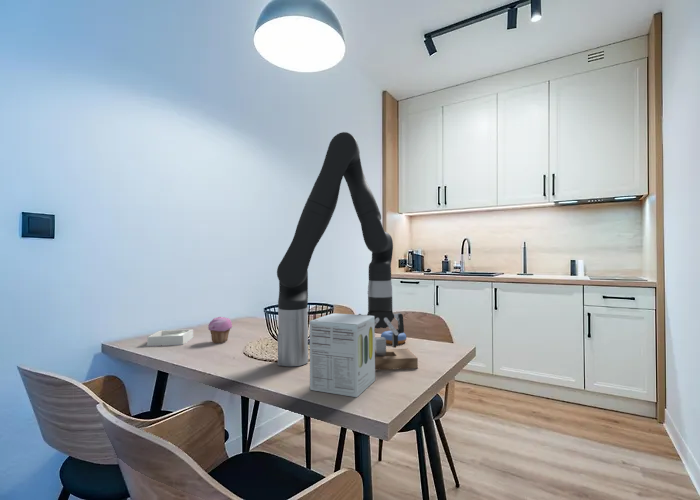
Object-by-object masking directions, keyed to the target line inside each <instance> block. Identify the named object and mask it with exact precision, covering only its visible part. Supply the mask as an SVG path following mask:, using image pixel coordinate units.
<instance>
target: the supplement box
mask: <svg viewBox="0 0 700 500" xmlns="http://www.w3.org/2000/svg"><path fill="white" fill-rule="evenodd" d="M374 318H375V317H374V316H369V315H367V314H361V315H358V314H354V313H353V314H352V313H351V314H350V313H334V312H333V313H332V312H331V313H330V314H327V315H323V316H320V317H318V318H314V319H312V320H309V390H310V391H317V392H321V393H328V394H332V395H333V394H334V395H339V396H340V395H341V396H347V397H353V398H358V397H359V396H360V395H361V394H362V393H363V392H364V391H366V389H367V388H369V387H370V386H371V385H372V384H373V383H374V382H375V381H376V370H375V335H376V334H375V329H376V328H375V319H374Z"/></svg>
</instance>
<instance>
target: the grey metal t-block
mask: <svg viewBox="0 0 700 500" xmlns="http://www.w3.org/2000/svg"><path fill="white" fill-rule="evenodd" d="M386 349H387V344H386V339H385V338H384V337H381V336H379V337H378V336H377V337H375V357H384V356H386Z"/></svg>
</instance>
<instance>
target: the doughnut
mask: <svg viewBox="0 0 700 500" xmlns="http://www.w3.org/2000/svg"><path fill="white" fill-rule="evenodd" d="M392 334H393V332H392V331H391V330H385V331H382V332H381V334H380V337H384V338H385V339H386V345H392ZM406 341H407V333H405V332H404V333H400V334H399V335H398V345H402V344H404V343H406Z"/></svg>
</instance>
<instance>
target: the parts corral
mask: <svg viewBox="0 0 700 500" xmlns="http://www.w3.org/2000/svg"><path fill="white" fill-rule="evenodd" d="M182 331H185V332H186V333H184V334H182V335H171V336H165V335H170V334H176V333H180V332H182ZM193 338H194V329H193V328H192V329H167V330H166V329H165V330H164V329H162V330H161V329H160V330H158V331H156V332H154V333H152V334H151V335H149V336H147V339H146V340H147V341H146V342H147V344H146V345H147V347H148V346H149V347H157V346H159V347H161V345H162V346H183V345H184V344H186V343H188V342H189V341H190V340H192V339H193Z"/></svg>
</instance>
